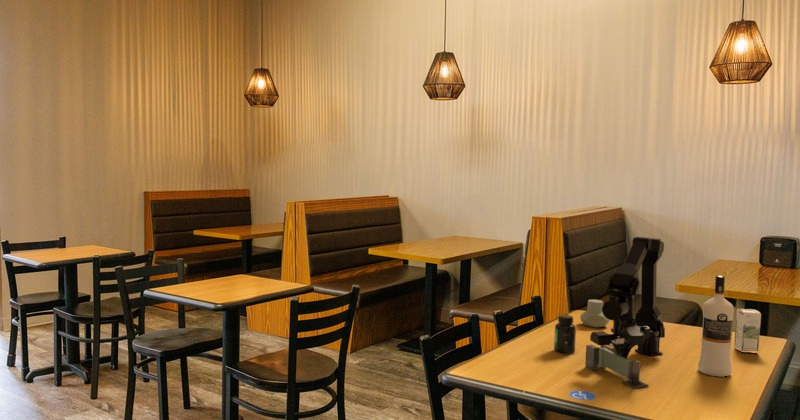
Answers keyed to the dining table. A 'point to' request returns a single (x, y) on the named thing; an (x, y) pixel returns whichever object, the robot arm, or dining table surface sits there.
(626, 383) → the hinge post
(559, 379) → the dining table surface
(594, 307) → the air freshener
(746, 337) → the syrup box
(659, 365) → the dining table surface
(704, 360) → the vodka
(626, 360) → the grey slab
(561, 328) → the supplement bottle
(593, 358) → the latch stile
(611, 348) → the reddish brown cube
